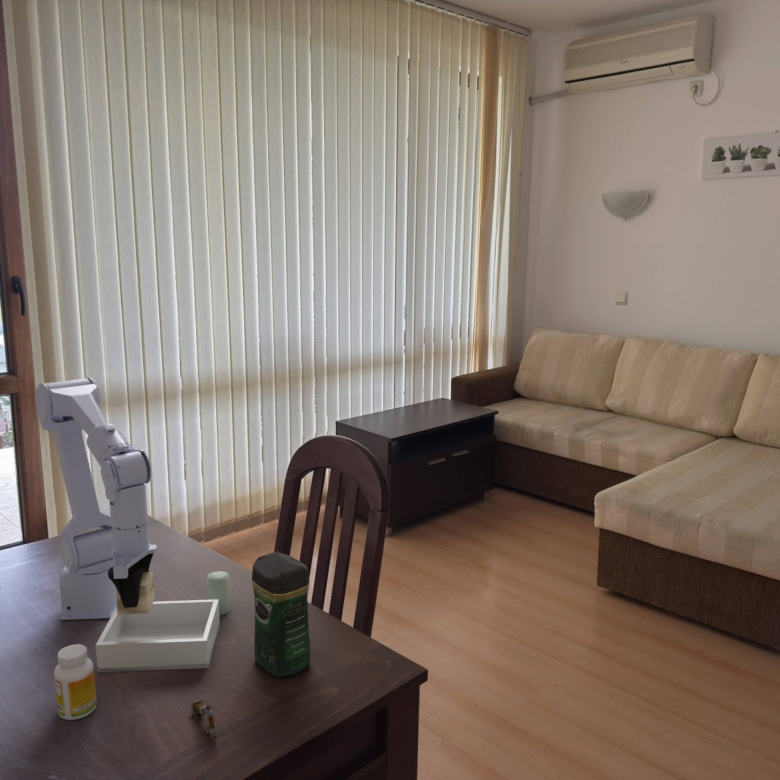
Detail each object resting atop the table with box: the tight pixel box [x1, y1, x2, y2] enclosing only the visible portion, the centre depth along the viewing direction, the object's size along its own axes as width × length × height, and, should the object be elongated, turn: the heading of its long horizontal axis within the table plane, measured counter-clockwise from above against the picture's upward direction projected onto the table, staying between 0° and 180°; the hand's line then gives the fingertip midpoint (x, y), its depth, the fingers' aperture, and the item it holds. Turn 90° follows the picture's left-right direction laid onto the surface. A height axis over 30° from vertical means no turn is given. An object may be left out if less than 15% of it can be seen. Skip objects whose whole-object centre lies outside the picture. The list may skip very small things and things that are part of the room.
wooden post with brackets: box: [190, 698, 218, 740], centre depth 104 cm, size 2×8×4 cm, turn 32°
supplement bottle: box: [53, 643, 98, 721], centre depth 107 cm, size 5×5×10 cm
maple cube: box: [115, 571, 156, 614], centre depth 122 cm, size 5×5×5 cm
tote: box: [95, 599, 221, 674], centre depth 124 cm, size 18×14×5 cm
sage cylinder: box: [206, 570, 231, 616], centre depth 136 cm, size 4×4×7 cm
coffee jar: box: [251, 550, 312, 678], centre depth 119 cm, size 10×8×19 cm
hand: (135, 598), depth 122 cm, fingers closed on maple cube, 5 cm apart
